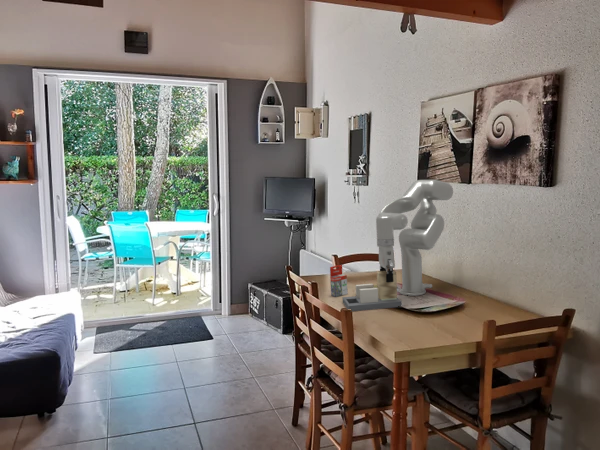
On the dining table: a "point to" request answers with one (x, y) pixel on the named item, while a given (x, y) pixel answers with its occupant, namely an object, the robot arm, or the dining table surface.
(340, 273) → the ink box
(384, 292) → the block
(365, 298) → the pale grey u-shaped piece
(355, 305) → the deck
